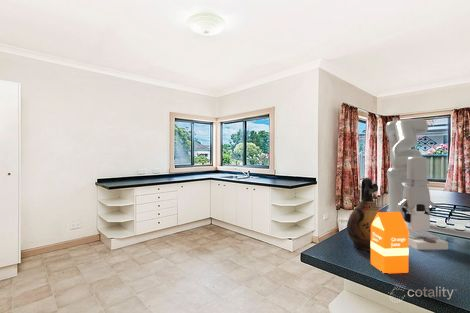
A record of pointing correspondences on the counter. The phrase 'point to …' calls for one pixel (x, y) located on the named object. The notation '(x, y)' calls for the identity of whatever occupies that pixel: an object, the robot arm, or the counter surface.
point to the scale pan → (421, 235)
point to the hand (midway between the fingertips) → (416, 221)
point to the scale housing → (428, 243)
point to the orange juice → (389, 243)
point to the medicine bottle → (419, 219)
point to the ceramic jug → (363, 217)
